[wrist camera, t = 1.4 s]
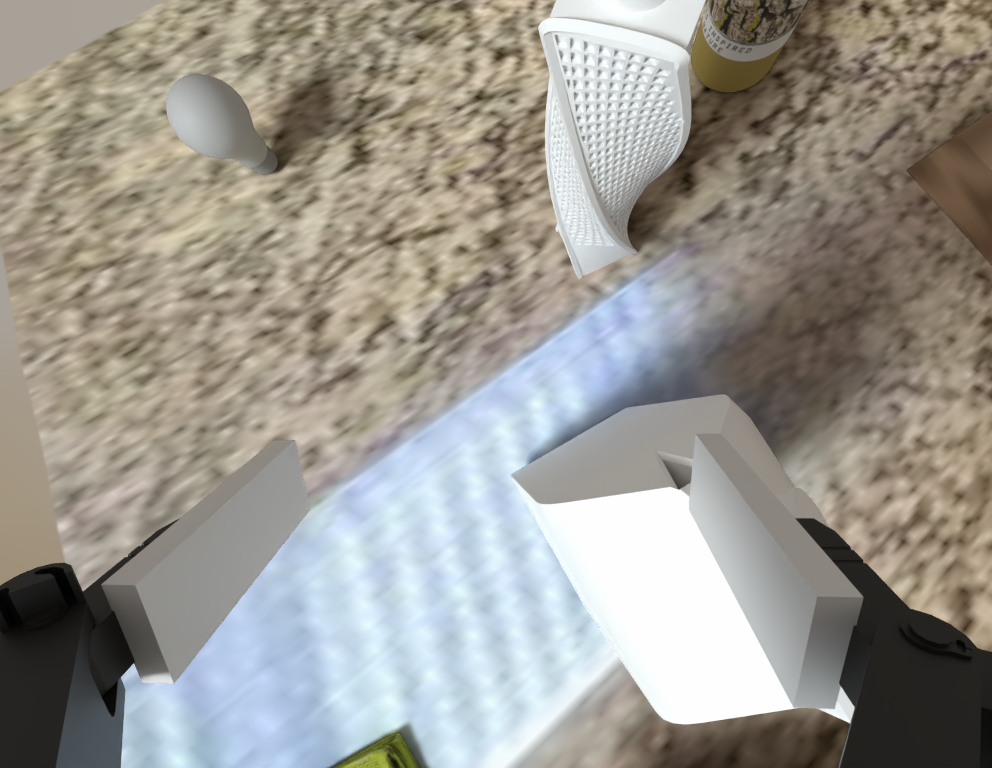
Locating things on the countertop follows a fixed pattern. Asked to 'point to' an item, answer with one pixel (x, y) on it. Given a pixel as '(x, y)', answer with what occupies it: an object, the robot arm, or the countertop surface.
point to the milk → (662, 555)
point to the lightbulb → (217, 122)
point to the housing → (963, 181)
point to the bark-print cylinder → (742, 40)
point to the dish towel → (383, 755)
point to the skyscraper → (613, 114)
